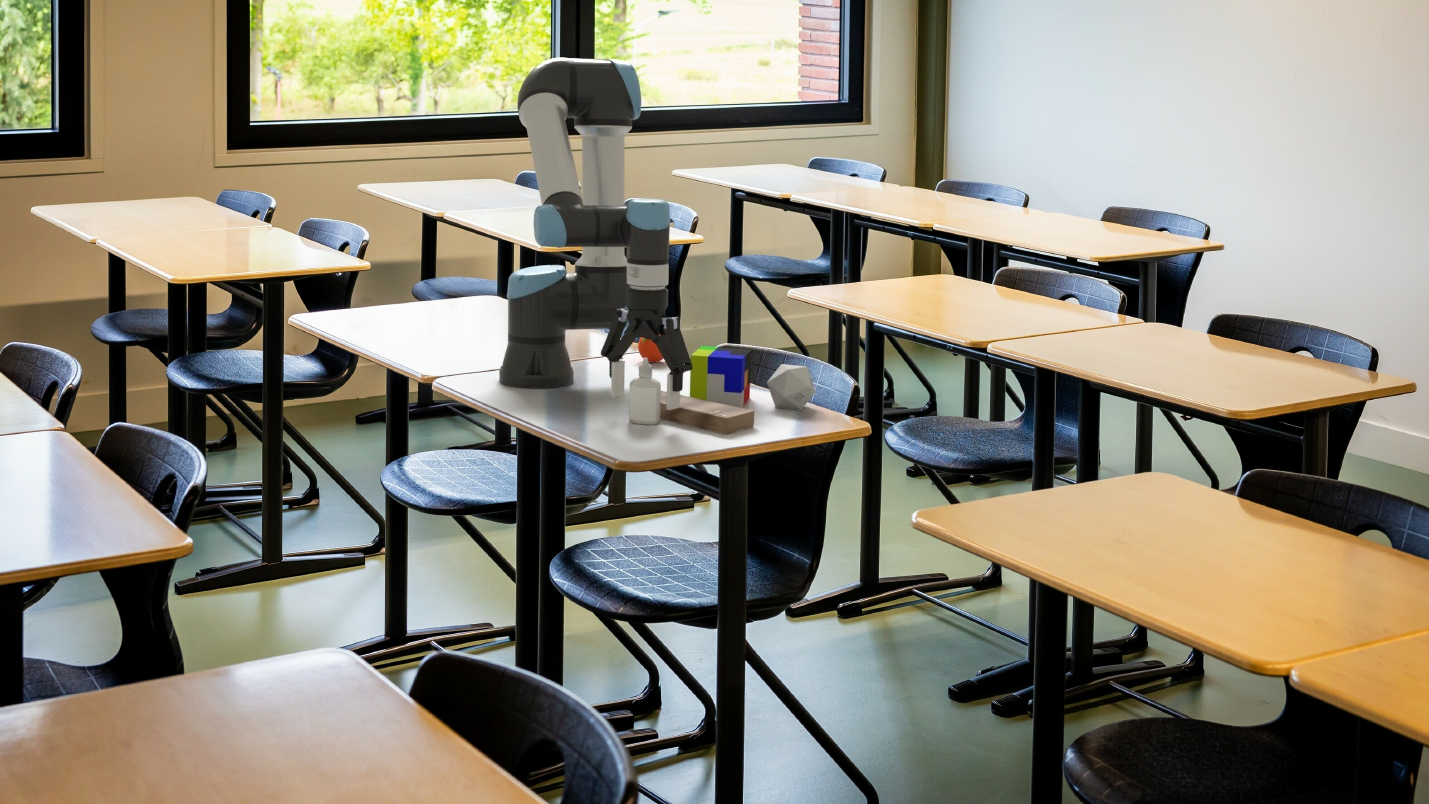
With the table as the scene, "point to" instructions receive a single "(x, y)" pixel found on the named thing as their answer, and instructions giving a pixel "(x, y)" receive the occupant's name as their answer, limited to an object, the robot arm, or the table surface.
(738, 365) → the puzzle toy
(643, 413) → the eye dropper bottle
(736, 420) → the walnut block
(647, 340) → the clementine
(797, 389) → the die
